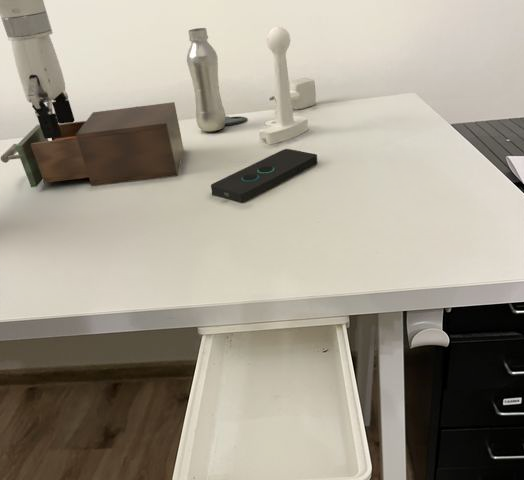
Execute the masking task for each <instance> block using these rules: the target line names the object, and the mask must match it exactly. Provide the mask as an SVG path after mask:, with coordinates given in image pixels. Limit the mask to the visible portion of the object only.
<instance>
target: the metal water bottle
mask: <svg viewBox="0 0 524 480" xmlns="http://www.w3.org/2000/svg"><path fill="white" fill-rule="evenodd" d="M188 37H189V38H188V39H189V42H191V44H190V47H189V48H188V52H187V55H186V63H187V68H188V71H189V74H190V78H191V81H192V86H193V89H194V96H195V98H194V99H195V108H196V110H195V120H196V124H197V127H198V128H199V129H200V131H202V132H216V131H219V130H222V129H224V128H225V126H226V123H227V115H226V112H225V109H224V106H223V102H222V97H221V92H220V85H219V60H218V59H219V58H218V54H217V51H216V50H215V48H214V47H213V46H212V45H211V44H210V43H209V41H208V39H209V35H208V31H207V28H206V27H199V28H191V29H189V30H188Z"/></svg>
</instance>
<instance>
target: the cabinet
mask: <svg viewBox="0 0 524 480" xmlns="http://www.w3.org/2000/svg"><path fill="white" fill-rule="evenodd" d="M85 121H86V122H85V123H84V124H83V126H82V127H81V128H80V130H79V131H78V132H77V133H76V138H77V141H78V144H79V147H80V150H81V154H82V157H83V160H84V163H85V166H86V170H87V173H88V176H89V178H88V179H89V182H90V185H91V186H90V187H94V186H103V185H109V184H110V185H112V184H119V183H127V182H135V181H145V180H152V179H161V178H168V177H177V176H178V175H179V171H180V168H181V163H182V160H183V155H184V153H185V152H184V151H185V148H184V144H183V139H182V134H181V129H180V123H179V119H178V114H177V108H176V102H175V101H172V102H164V103H156V104H147V105H140V106H132V107H124V108H116V109H109V110H101V111H93V112H92V113H91V114H90V115H89V117H88V118H87V119H86V120H85Z"/></svg>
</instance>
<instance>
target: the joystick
mask: <svg viewBox="0 0 524 480" xmlns="http://www.w3.org/2000/svg"><path fill="white" fill-rule="evenodd" d="M266 44H267V47H268V49H269V51H271V53H272V56H273V69H274V91H275V92H274V93H275V96H276V101H275V115H276V116H275V117H276V119H270V120H268V121H266V122H265V123H264V125H265V128H261V129H259V130H258V134H259V140H261V141H265V143H266V144H268V145H274V144H277V143H281V142H285V141H288V140H291V139H293V138H295V137H298V136H300V135H302V134H303V133H305V132H307V131H308V130H309V120H308V117H304V116H298V115H297V116H295V115H294V111H293V108H292V103H291V95H290V87H289V82H290V80H289V71H288V63H287V51H288V49H289V47H290V45H291V36H290V33H289V31H288V30H287V29H286V28H284V27H283V26H276V27H273V28H272V29H270V31H269V32H268V34H267V37H266Z"/></svg>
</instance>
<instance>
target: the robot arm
mask: <svg viewBox="0 0 524 480" xmlns="http://www.w3.org/2000/svg"><path fill="white" fill-rule="evenodd" d="M0 18H1V21H2V24H3V27H4V30H5V33H6V36H7V39H8V41H10V44H11V49H12V53H13V58H14V62H15V66H16V70H17V72H18V76H19V79H20V80H19V81H20V83H21V84H20V85H21V86H22V90H23V93H24V96H25V99H26V101H27V102H29V103H31V107H32V108H33V110H34V113H35V114H34V115H35V116H36V118H37V121H38V125H40V127H41V130H42V133H43V136H44V138H46V139H48V140H49V139H52V138H56V137H61V136H62V133H61V130H60V127H59V124H64V123H72V122H75V117H74V112H73V110H72V106H71V103H70V100H69V96H68V93H67V91H66V82H65V78H64V75H63V71H62V67H61V64H60V61H59V59H58V55H57V53H56V50H55V47H54V44H53V42H52V38H51V36H50V35H52V34H53V33H54V32H53V28H52V25H51V21H50V19H49V15H48V12H47V8H46V5H45V2H44V0H0ZM45 103H46V104H45ZM53 112H54V113H53Z"/></svg>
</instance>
